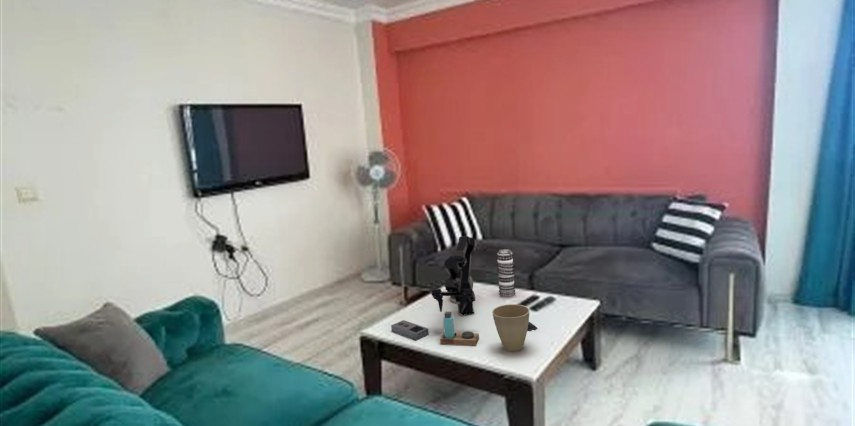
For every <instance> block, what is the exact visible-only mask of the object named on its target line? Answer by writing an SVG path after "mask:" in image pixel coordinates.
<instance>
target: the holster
mask: <svg viewBox="0 0 855 426" xmlns="http://www.w3.org/2000/svg"><path fill="white" fill-rule="evenodd" d="M479 340H480V333H477V332H473V331H464V332H455V338H445V333H444V332H443V333H442V335H441V337H440V338H439V344H440V345H444V346H446V345H448V346H469V347H477V345H478V343H479Z"/></svg>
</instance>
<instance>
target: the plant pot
mask: <svg viewBox="0 0 855 426" xmlns="http://www.w3.org/2000/svg"><path fill="white" fill-rule="evenodd" d="M491 313H492V316H493V317H492V318H493V321H494V325H495V328H496V332H497V334H498V338H499V340H500V341H501V344H502V346H503V348H504V350H506V351H508V352H519V351H521V350H522V349H523V347H524V344H525V342H526V338H527V333H528V332H527V329H528V323H529V322H530V308H529V307H528V306H525V305H522V304H503V305H499V306H497V307H494V308H493V309H492V312H491Z"/></svg>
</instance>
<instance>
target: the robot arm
mask: <svg viewBox="0 0 855 426" xmlns="http://www.w3.org/2000/svg"><path fill="white" fill-rule="evenodd" d="M477 243H478V242H477V240H476V239H475V238H472V237H470V236H468V235H467V236H466V235H465V236H459V237H458V243H457V246H456V248H455V251H454V252H451V254H450V255H449V257H448V258H447V259H446V260H445V261H444V263H443V265H444V268H445V270H446V272H447V274H448V278H447V279H445V280H444V289H445V290H446V291H442V289H441V288H432V290H431V293H430V295H431V296H432V298H433V299H434V300H436V301H437V303H438V307H439V308H438V309H439V312H440V313H441V312H442V311H443V303H444V299H443V298H444V297H450V296H455V298H456V302H459V304H457V311H458V313H459V314H460V315H461V316H467V315H474V314H475V311H474V305H473V304H474V302H475V301H476V294H475V292H474V290H473V289H472V287H471V285H470V276H471V269H472V256H473V255H474V254H475V253H476V248H477V247H478V244H477Z"/></svg>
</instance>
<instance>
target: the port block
mask: <svg viewBox="0 0 855 426" xmlns="http://www.w3.org/2000/svg"><path fill="white" fill-rule="evenodd" d="M390 325H391V326H390V328H391V332H393V333H395V334H397V335H401V336H403V337H406V338H409V339H411V340H413V341H419V340H421V339H423V338H425V337H427V336H429V333H430V331H429V328H428V327H425V326H422V325H419V324H416V323H413V322H411V321H408V320H404V319H403V320H400V321H398V322H396V323H394V324H390Z"/></svg>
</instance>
